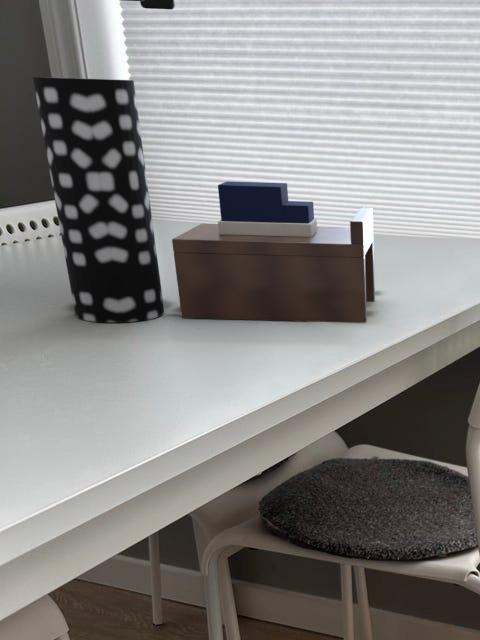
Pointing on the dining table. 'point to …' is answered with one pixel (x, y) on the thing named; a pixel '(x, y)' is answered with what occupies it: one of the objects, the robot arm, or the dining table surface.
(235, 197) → the trainer
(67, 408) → the dining table surface
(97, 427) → the dining table surface
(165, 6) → the robot arm
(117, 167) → the spotted tube
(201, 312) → the wooden storage chest
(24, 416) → the dining table surface
